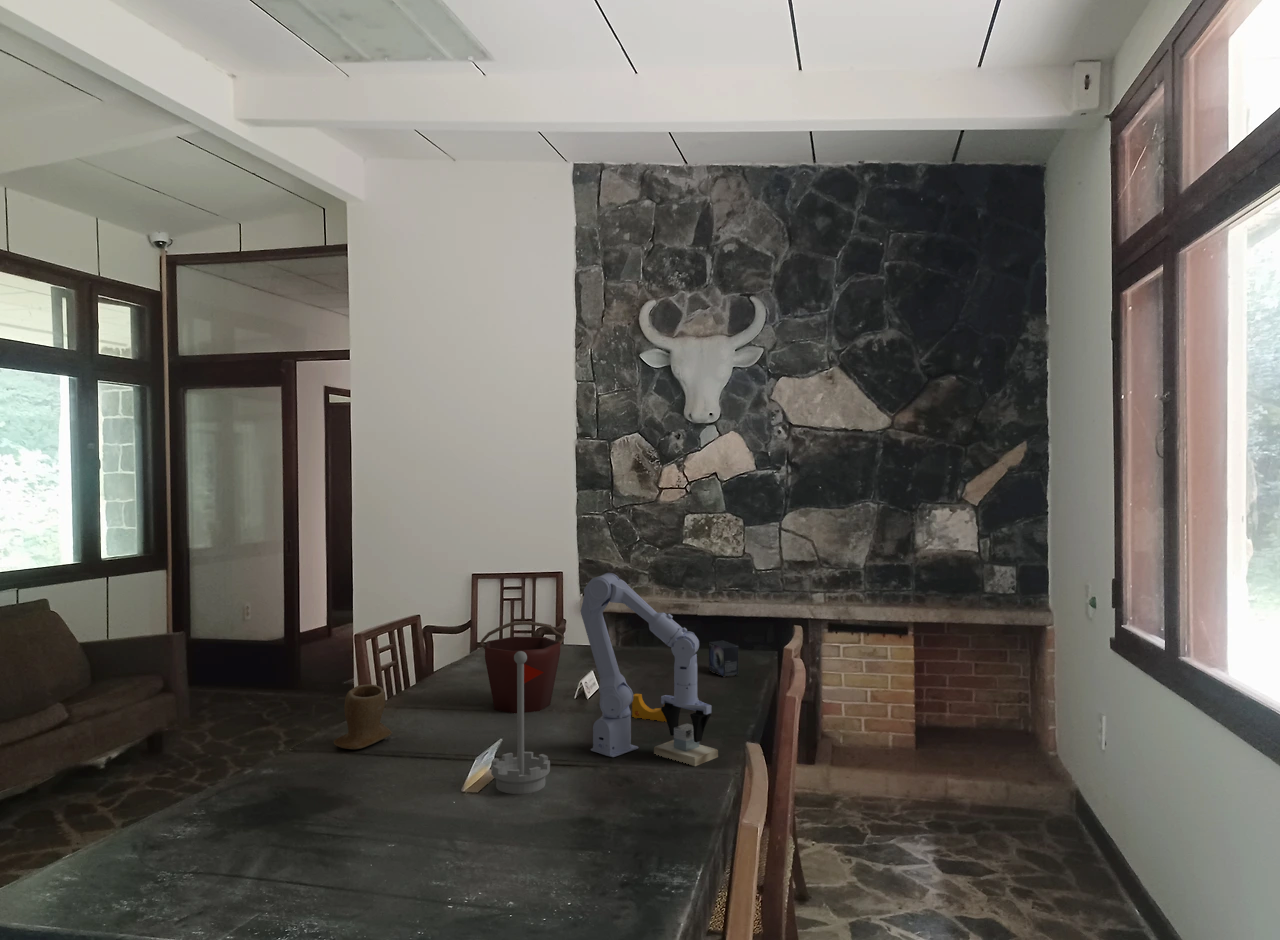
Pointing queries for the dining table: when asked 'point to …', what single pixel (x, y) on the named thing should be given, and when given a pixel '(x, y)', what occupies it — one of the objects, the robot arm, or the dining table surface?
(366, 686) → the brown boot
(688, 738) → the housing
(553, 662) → the bucket
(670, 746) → the cream flat block
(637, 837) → the dining table surface
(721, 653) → the small box
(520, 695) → the flag stand
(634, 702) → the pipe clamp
